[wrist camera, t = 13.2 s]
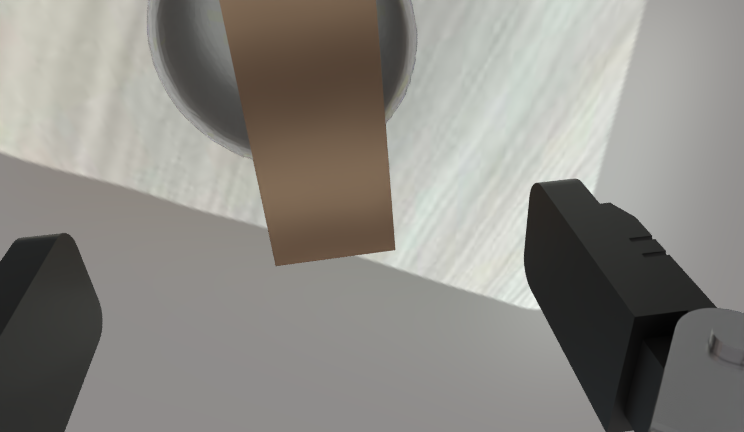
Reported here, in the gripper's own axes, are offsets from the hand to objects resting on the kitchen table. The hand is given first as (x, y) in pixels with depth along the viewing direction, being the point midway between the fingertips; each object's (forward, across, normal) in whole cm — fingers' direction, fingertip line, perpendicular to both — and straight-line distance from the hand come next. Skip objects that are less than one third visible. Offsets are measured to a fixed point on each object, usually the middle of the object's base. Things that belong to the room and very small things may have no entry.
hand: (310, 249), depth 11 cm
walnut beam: (+15, 0, 0) cm, 15 cm away
